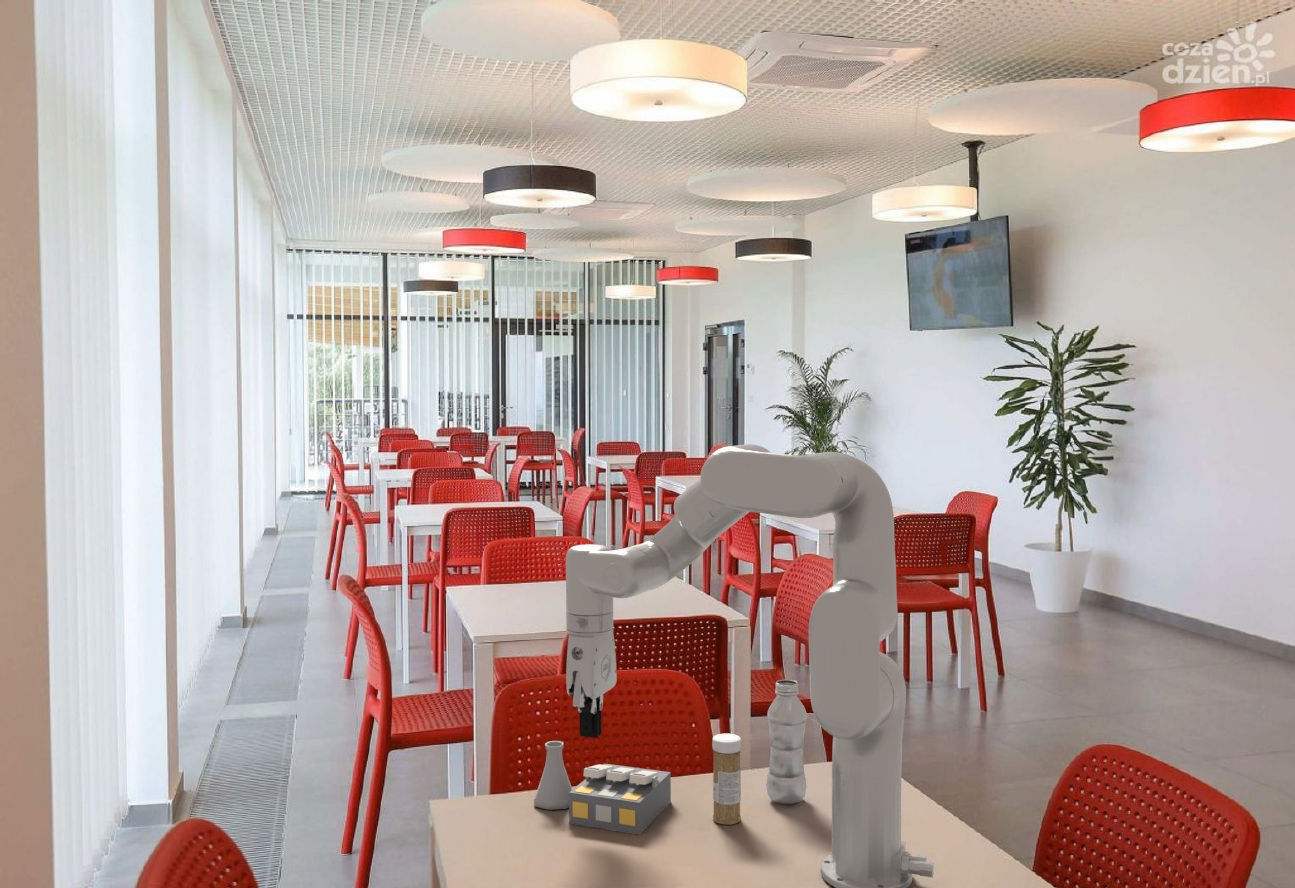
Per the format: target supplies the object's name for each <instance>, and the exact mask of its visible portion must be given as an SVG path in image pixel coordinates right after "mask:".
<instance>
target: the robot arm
mask: <svg viewBox="0 0 1295 888" xmlns="http://www.w3.org/2000/svg"><path fill="white" fill-rule="evenodd" d="M673 512H674V516H673V517H672V518H671V520H669V522H668V523H667V524H665V525H664V526H663V527H662V528H661V529H659V531H657V532H656V533H655V534H654V535H652V536H651V537H650V538H648V539H647V540H646V541H644V542H643V543H639V544H635V545H631V546H629V547H628V546H626V547H624V548H620V549H615V550H611V548H609V547H608V546H606V545H603V544H596V543H595V544H592V543H590V544H589V543H587V544H578V545H573V546H571V547H570V548H569V549H568V550H566V555H565V582H566V583H565V589H566V590H565V602H566V603H565V605H566V617H565V618H566V619H565V620H566V626H565V627H566V629H565V630H566V631H565V632H566V633H567V634H568V639H567V650H566V651H567V652H566V671H565V672H566V673H565V674H566V675H565V679H566V682H565V683H566V692H567V694H568V696H569V697H573V698H572V707H574V708H577V711H578V714H579V720H578V722H579V736H580V737H583V738H591V739H592V738H593V739H598V738H599V737H600V736H602V732H603V728H602V726H603V725H602V724H603V723H602V722H603V719H602V715H603V714H602V713H603V712H602V710H603V706H604V695H605V694H606V693H607V692H608V691H610V690H611V689H613V688H614V687H615V686H616V684H617V678H618V677H617V655H616V642H615V637H614V598H616V599H628V598H632V597H635V596H637V595H641V594H644V593H647V592H648V591H649V592H650V591H652V590H656V589H658V588H660V587H662V586H664V585H665V584H667V583H668V582H670V581H671V580H673V579H674V578H675V577H676V576H677V575H679V574H680V573H681V572H683V571H684V570H685V569H687V568H688V567H689V566H690V565H692V563H694V562H695V561H696V560H697V559H698V558H699V557H700V556H701V555H703V553H704V552H705V551H706V550H707V548H709V547H710V546H711V544H712V543H713V542H714V541H715V540H716V539H717V538H718V537H720V536H721V535H722V534H723V533H725V532H726V531H727V530H729V529H730V528H731V527H732V526H733V525H735V524H736V523H738V521H740V520H741V519H742V518H744V517H745V516H746V515H748V514H749V513H759V514H767V515H774V516H781V517H788V518H794V519H795V518H796V519H813V518H817V517H820V516H824V515H827V514H832V515H833V517H834V521H835V522H834V532H833V533H834V534H833V538H832V559H833V566H832V567H833V568H832V571H833V575H832V576H833V577H832V586H831V587H829V588H827V589H826V590H825V591H823V592H822V593H821V594H820V596H818V598H817V599H816V600H815V602H814V604H813V606H812V608H811V612H810V615H809V616H810V617H809V622H808V623H809V624H808V654H809V655H808V657H809V658H808V659H809V662H808V663H809V664H808V665H809V691H810V692H809V695H810V697H809V698H810V703H811V708H812V711H813V714H814V717H815V719H816V720H817V722H818V724H819V725H820V727H821V728H822V729H823V730H824V731H825V732H826V733H828V734H829V735H831V736H832V737H833V738H832V752H831V753H832V758H831V759H832V760H831V761H832V762H831V853H829V854H828V855H827V856H825V857H824V858H823V859H822V860H821V863H820V875H821V877H822V878H823V880H824V881H825V882H827V883H828V884H829V885H831V886H832V887H834V888H909V887H910V886H911V885H912V883H913V875H917V876H920V877H925V878H934V872H935V871H934V869H935V863H934V862H931V861H927V860H928V858H927V856H926V855H921V854H910V852H909V851H907V850H906V844H907V843H906V841H904V840H903V841H902V770H903V769H902V768H903V765H902V764H903V763H902V762H903V760H902V757H903V732H904V723H905V714H906V713H905V712H906V703H907V687H906V680H905V676H904V674H903V672H902V670H901V668H900V666H899V665H898V664H897V663H896V662H895V660H894V659H893V658H891V657H890V656H888V655H887V654H885V653H883V652H881V649H880V648H881V645H880V644H881V642H883V640H885V639H886V638H887V637H888V636H890V634H891V633H892V632H893V630H894V629H895V627H896V625H897V621H898V597H897V595H898V594H897V566H896V565H897V564H896V563H897V560H896V544H895V518H894V517H895V516H894V506H893V502H892V498H891V495H890V492H889V490H888V487H887V486H886V483H885V482H884V480H883V479H882V477H881V476H880V475H879V474H878V472H877V471H875V469H873V468H872V467H871V465H869V464H868V463H866V462H864V460H863V461H862V460H861V459H859V458H858V457H855V456H852V455H850V454H848V453H844V452H839V451H838V452H837V451H824V452H818V453H812V454H805V455H799V454H789V453H788V454H787V453H775V452H774V453H773V452H771V451H770V450H768V449H767V448H765V447H764V446H761V445H758V444H752V443H751V444H747V443H746V444H739V445H729V446H724V447H722V448H719V449H717V450H715V451H714V452H712V453H711V454H710V455H709V456H708V458H707V459H706V460H705V462H704V463H703V465H702V467H701V471H700V478H699V479H698V480H696V481H695V482H694V483H693V484H692V485H690V486H689V487H688V488H687V489H686V490H684V491H682V492H681V493H680V494H679V495H678V496H677V497H676V498H675V500H674V503H673Z"/></svg>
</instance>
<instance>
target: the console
mask: <svg viewBox="0 0 1295 888" xmlns="http://www.w3.org/2000/svg"><path fill="white" fill-rule="evenodd" d="M602 765H608V766H613V770H614V769H617V768H620V767H623V768H630V769H636V770H635V773H637V772H640V771H643V770H645V771H653V772H658V780H657V776H654V777H653V778H652V782H651V783H648V784H645V785H643V784H636V783H629V780H630V775H631V774H634V773H631V774H630V775H629V779H627V780H624V781H614V780H607V779H606V776H607V772H606V776H604V777H601V778H592V777H585V779H583V781H581V782H580V783H579V784H577V785H576V786H575V787H574V788H572V789H573V790H571V791H570V792H569V807H568V815H569V819H568V820H569V823H568V824H571V825H577V826H582V827H583V826H584V827H589V828H595V829H602V830H609V831H614V832H615V831H616V832H621V833H628V834H634V835H639V836H640V835H641V834H643V831H645V830H646V828H648V826H649V825H651V823H652V822H653V821H654V820H655V819H656V818H657V817H658V816H659V815H660V814H661V813H662V811H664V809H666V807H668V805H669V804H670V803H671V802H672V801H671V798H672V797H671V795H672V794H671V790H672V789H671V787H672V786H671V784H672V783H671V782H672V781H671V778H672V777H671V776H672V775H671V771H665V770H662V771H661V770H658V769H657V770H656V769H650V768H649V769H648V768H647V769H646V768H640V767H633V766H625V765H617V764H610V763H609V764H608V763H603V764H602ZM608 771H610V769H609V770H608Z"/></svg>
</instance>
